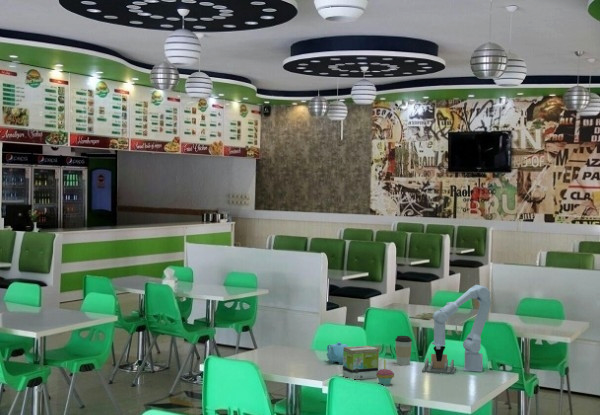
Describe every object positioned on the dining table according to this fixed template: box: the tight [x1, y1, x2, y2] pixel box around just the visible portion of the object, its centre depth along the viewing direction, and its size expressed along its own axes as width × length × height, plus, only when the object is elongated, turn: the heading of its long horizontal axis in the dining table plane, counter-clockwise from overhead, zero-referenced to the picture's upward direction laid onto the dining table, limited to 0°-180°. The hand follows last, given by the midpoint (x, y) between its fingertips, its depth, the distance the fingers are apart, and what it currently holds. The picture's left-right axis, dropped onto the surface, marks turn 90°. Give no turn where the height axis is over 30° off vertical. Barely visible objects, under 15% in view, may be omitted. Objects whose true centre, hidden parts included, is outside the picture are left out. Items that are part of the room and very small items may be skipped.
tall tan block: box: [430, 353, 448, 369], centre depth 402 cm, size 8×2×7 cm, turn 75°
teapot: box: [326, 341, 349, 365], centre depth 419 cm, size 13×14×11 cm
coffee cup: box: [394, 335, 413, 366], centre depth 418 cm, size 9×9×15 cm
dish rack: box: [421, 357, 457, 375], centre depth 402 cm, size 16×14×5 cm
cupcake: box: [376, 359, 395, 386], centre depth 370 cm, size 9×8×12 cm
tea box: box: [342, 345, 380, 380], centre depth 384 cm, size 15×10×15 cm, turn 117°
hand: (439, 360), depth 402 cm, fingers closed on tall tan block, 2 cm apart
